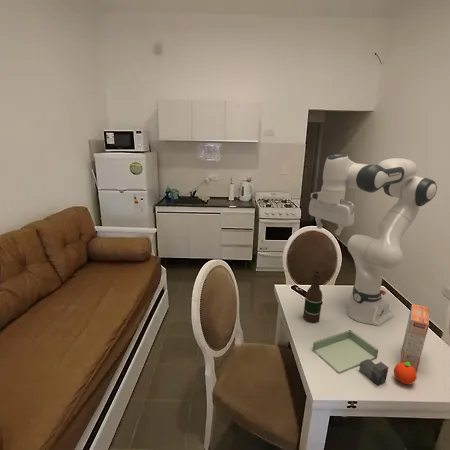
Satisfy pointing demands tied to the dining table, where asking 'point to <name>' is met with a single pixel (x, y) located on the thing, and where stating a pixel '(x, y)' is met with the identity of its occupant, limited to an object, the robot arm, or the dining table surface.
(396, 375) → the clementine
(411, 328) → the cracker box
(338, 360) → the tray
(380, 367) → the bracket
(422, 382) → the dining table surface
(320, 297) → the beer bottle
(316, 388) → the dining table surface
